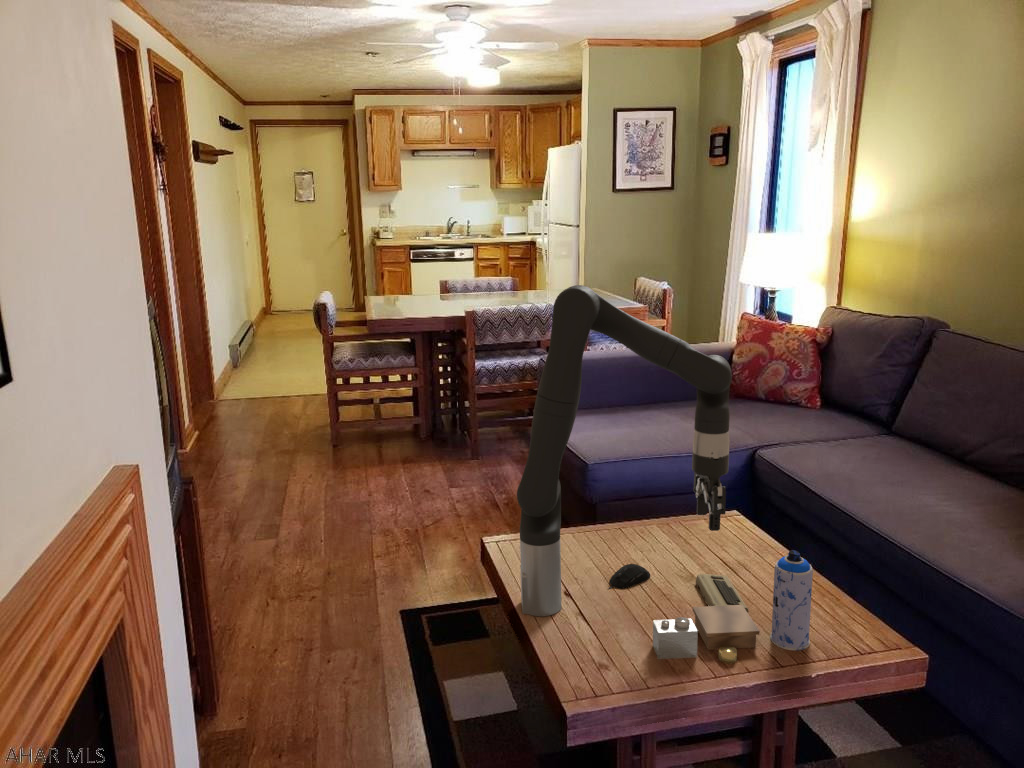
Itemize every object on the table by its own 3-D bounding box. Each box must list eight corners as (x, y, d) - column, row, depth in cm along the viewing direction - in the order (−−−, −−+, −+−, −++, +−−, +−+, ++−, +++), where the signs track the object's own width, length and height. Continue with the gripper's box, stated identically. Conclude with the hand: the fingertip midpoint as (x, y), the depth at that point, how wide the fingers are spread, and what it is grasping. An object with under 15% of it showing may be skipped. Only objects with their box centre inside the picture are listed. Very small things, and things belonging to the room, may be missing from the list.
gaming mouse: (595, 588, 190) (595, 573, 189) (636, 569, 199) (636, 555, 198) (613, 597, 185) (613, 582, 184) (655, 578, 194) (655, 563, 193)
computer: (749, 616, 174) (749, 603, 174) (713, 618, 174) (713, 604, 174) (728, 584, 190) (728, 571, 189) (695, 585, 190) (695, 572, 189)
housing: (658, 659, 158) (658, 628, 157) (652, 646, 163) (653, 615, 162) (697, 657, 159) (697, 626, 157) (690, 644, 163) (691, 614, 162)
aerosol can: (768, 629, 168) (772, 543, 164) (806, 632, 167) (811, 545, 162) (772, 648, 161) (776, 559, 156) (812, 652, 159) (817, 561, 155)
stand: (706, 651, 161) (706, 633, 160) (692, 623, 171) (692, 607, 170) (758, 648, 161) (759, 630, 160) (741, 621, 172) (742, 604, 171)
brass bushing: (721, 664, 156) (721, 655, 156) (716, 654, 160) (716, 645, 159) (739, 663, 156) (739, 654, 156) (733, 653, 160) (733, 644, 159)
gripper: (683, 441, 171) (681, 510, 174) (703, 461, 157) (700, 536, 160) (717, 440, 171) (714, 509, 175) (740, 460, 157) (736, 534, 161)
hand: (707, 522), depth 168 cm, fingers open, 8 cm apart
